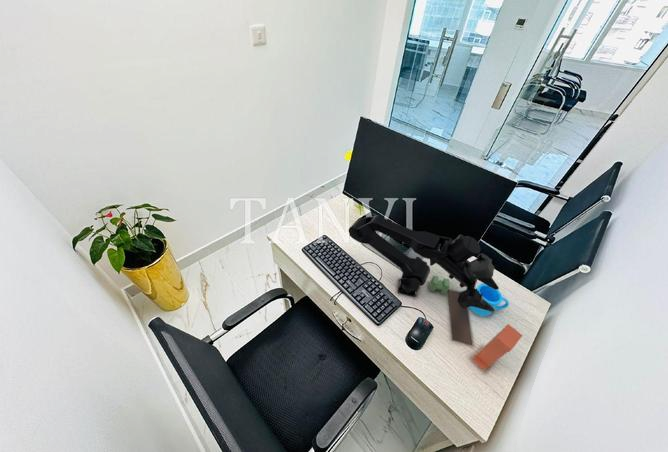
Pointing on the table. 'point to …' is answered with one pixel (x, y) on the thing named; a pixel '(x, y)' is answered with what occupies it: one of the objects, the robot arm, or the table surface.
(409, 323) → the table surface
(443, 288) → the green knobbly lump
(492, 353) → the letter I
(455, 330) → the board
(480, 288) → the mug
